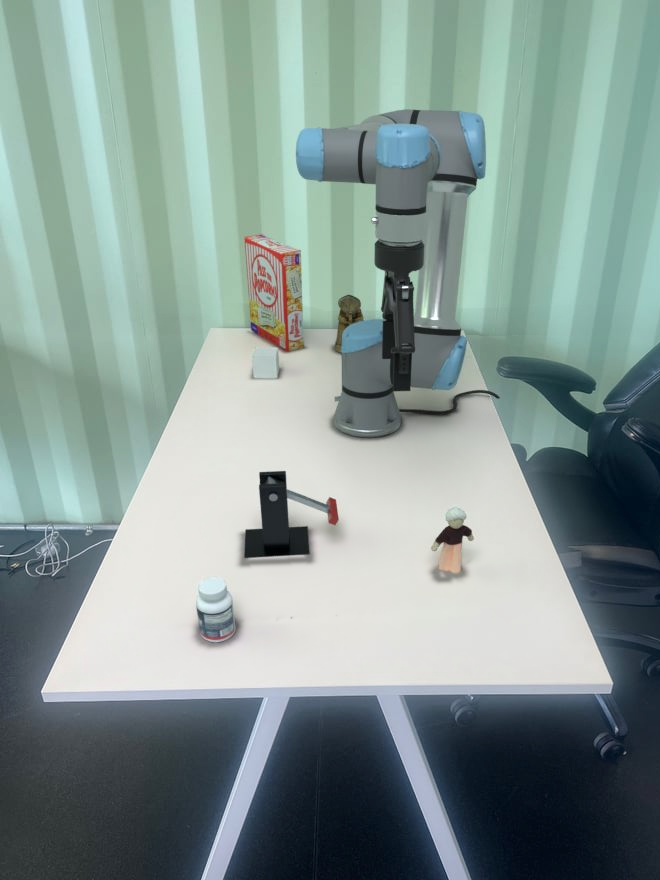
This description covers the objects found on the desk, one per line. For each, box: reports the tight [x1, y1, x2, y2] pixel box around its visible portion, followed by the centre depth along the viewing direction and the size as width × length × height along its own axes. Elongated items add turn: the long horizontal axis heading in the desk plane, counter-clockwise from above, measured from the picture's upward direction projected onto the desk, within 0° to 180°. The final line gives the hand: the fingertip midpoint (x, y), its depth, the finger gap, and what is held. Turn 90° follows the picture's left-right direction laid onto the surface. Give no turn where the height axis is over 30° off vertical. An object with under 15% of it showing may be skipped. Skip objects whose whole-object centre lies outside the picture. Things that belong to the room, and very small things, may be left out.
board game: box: [243, 233, 305, 353], centre depth 210 cm, size 20×6×27 cm, turn 37°
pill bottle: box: [195, 576, 237, 643], centre depth 111 cm, size 5×5×9 cm
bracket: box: [243, 470, 311, 559], centre depth 128 cm, size 11×8×14 cm
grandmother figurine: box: [430, 506, 475, 574], centre depth 124 cm, size 8×4×13 cm, turn 126°
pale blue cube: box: [251, 346, 280, 379], centre depth 195 cm, size 6×6×6 cm
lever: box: [265, 477, 339, 526], centre depth 127 cm, size 13×6×2 cm, turn 98°
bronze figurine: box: [334, 294, 365, 354], centre depth 206 cm, size 9×14×18 cm, turn 179°
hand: (395, 373), depth 125 cm, fingers open, 13 cm apart
